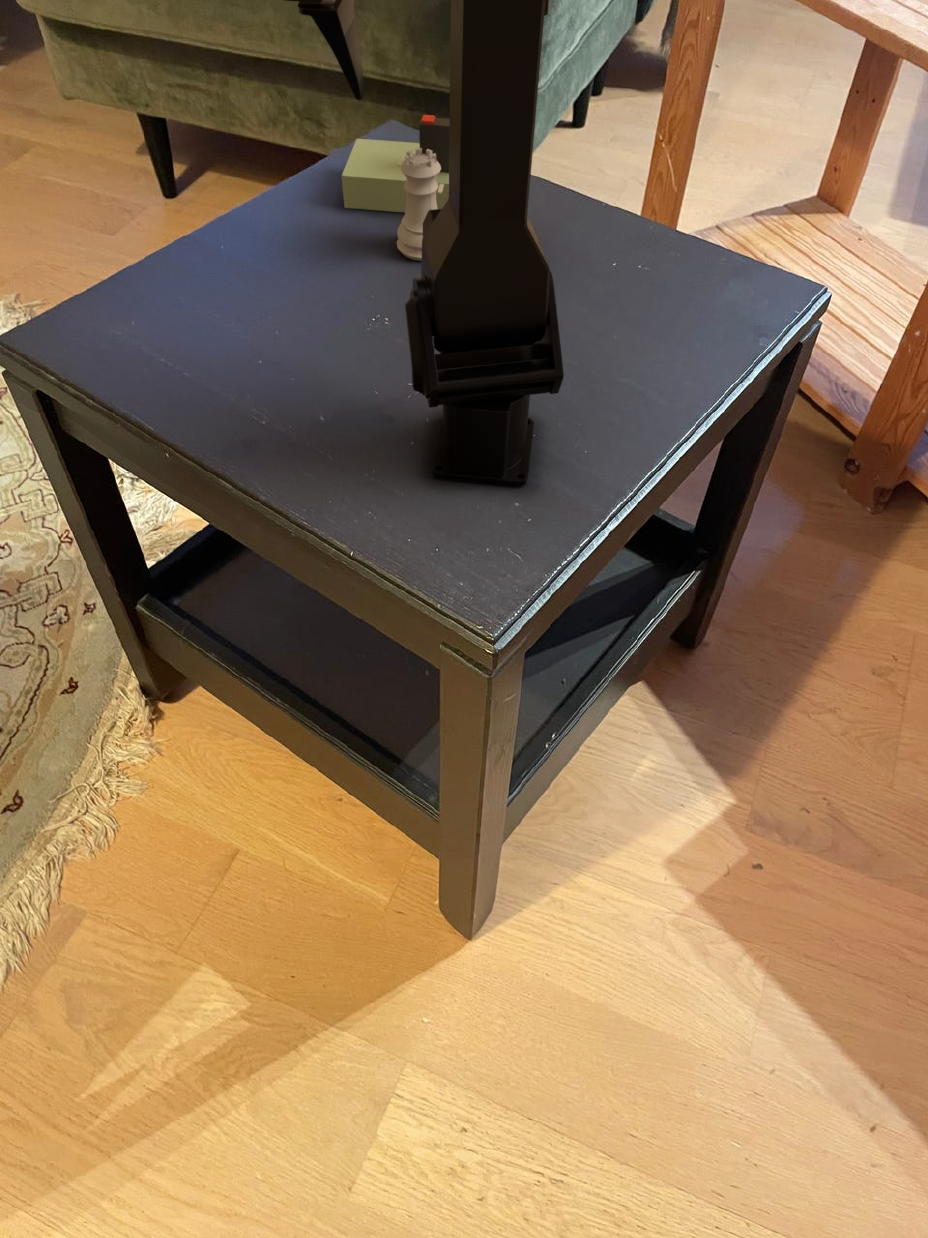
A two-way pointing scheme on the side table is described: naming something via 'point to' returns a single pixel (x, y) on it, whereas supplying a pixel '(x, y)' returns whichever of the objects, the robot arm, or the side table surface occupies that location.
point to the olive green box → (382, 176)
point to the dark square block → (435, 138)
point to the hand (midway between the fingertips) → (419, 102)
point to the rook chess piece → (417, 200)
